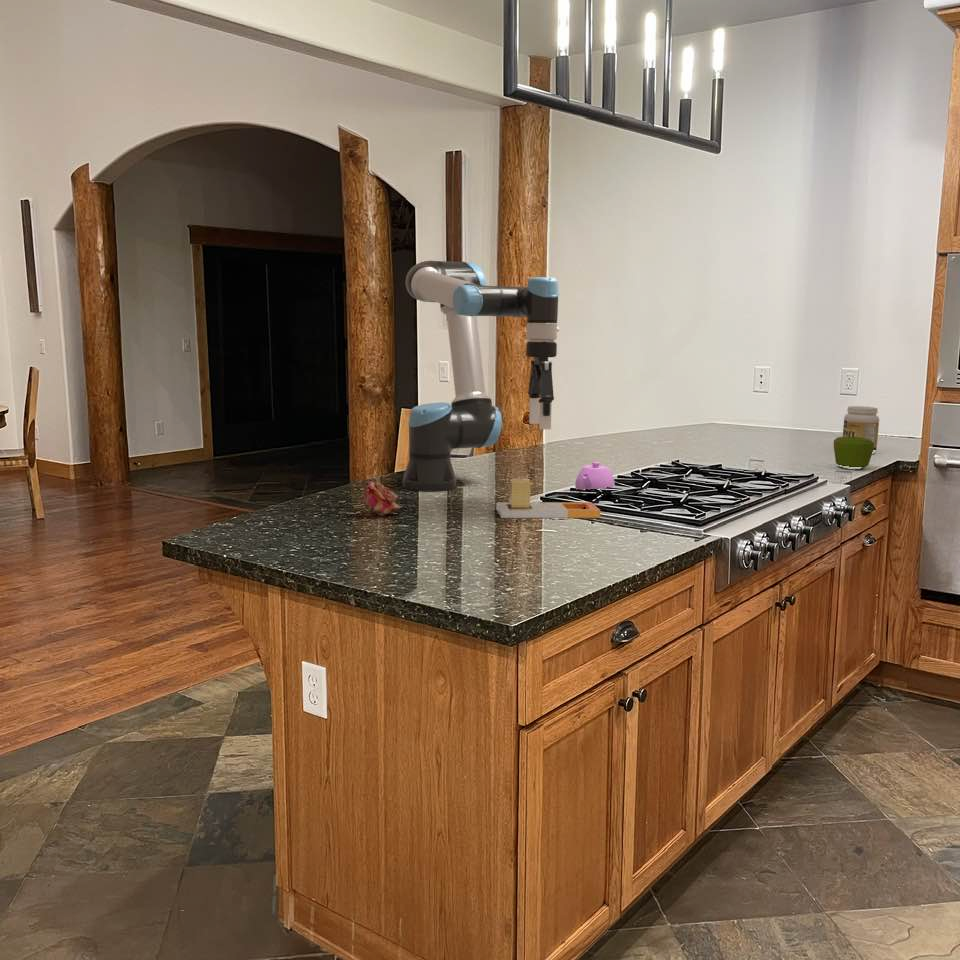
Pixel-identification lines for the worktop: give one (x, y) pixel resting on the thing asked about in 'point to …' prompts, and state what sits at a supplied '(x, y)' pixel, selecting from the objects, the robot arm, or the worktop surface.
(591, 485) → the teapot
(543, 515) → the rail
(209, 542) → the worktop surface
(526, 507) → the brass nut block
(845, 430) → the supplement tub
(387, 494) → the flower
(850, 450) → the apple
